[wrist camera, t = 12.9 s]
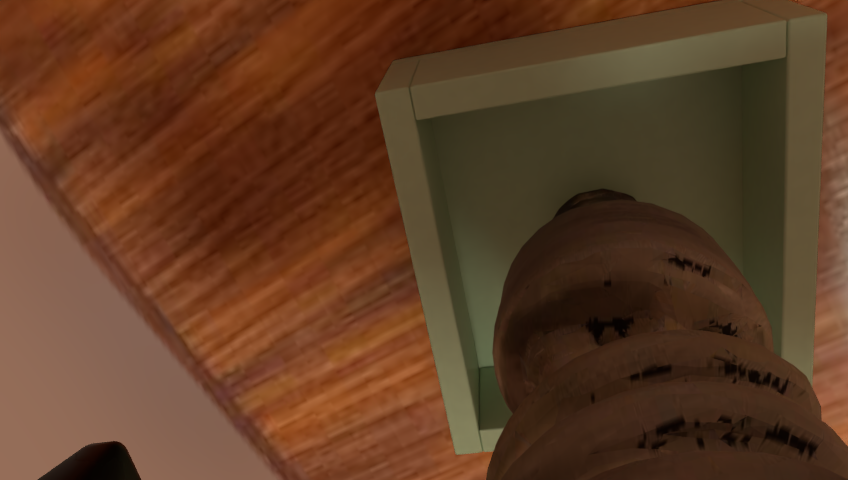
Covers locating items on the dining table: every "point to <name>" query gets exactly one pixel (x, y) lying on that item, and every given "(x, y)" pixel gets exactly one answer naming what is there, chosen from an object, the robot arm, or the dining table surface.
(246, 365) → the dining table surface
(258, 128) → the dining table surface
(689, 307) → the brown ridged cylinder
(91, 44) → the dining table surface
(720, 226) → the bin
